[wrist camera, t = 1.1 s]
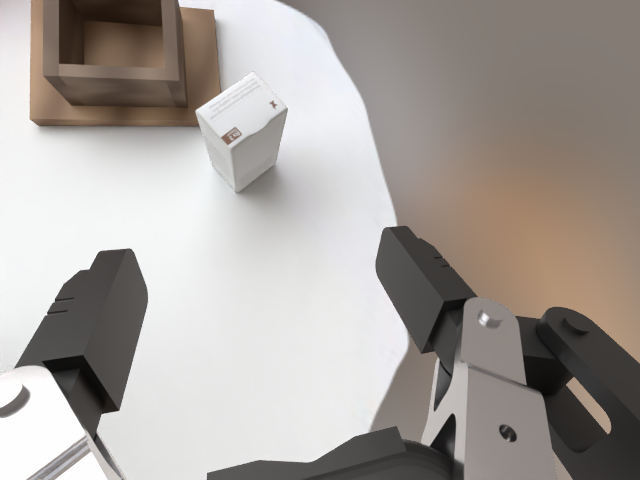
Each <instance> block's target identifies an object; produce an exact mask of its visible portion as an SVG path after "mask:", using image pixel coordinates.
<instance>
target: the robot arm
mask: <svg viewBox="0 0 640 480" xmlns="http://www.w3.org/2000/svg"><path fill="white" fill-rule="evenodd" d="M376 273H377V276H378V278H379V280H380V282H381V284H382V285H383V287H384V289H385V291H386V293H387V294H388V296H389V298H390V300H391V301H392V303H393V305H394V307H395V308H396V310H397V312H398V314H399V315H400V317H401V319H402V321H403V323H404V324H405V326H406V328H407V330H408V331H409V333H410V335H411V337H412V338H413V340H414V342H415V344H416V345H417V347H418V349H419V351H420V352H421V354H423V353H428V352H433V351H435V352H436V354H437V356H438V359H437V361H436V365H435V372H434V380H433V388H432V394H431V401H430V409H429V415H428V421H427V424H426V427H425V430H424V433H423V437H422V440H421V443H419V442H415V441H410V440H406V439H401V436H400V433H399V431H398V428H397V426H395V427H391V428H387V429H383V430H379V431H375V432H371V433H367V434H363V435H359V436H355V437H353V438H352V439H350V440H348V441H347V442H345V443H343V444H342V445H340V446H338V447H337V448H335V449H334V450H332V451H330V452H329V453H327V454H325V455H324V456H322V457H320V458H319V459H317V460H315V461H313V462H309V463H303V462H283V461H264V460H258V461H254V462H250V463H246V464H242V465H238V466H234V467H230V468H226V469H222V470H218V471H214V472H210V473H207V480H557V475H556V469H555V463H554V457H553V451H554V452H555V454H556V455H557V457H558V458H559V460H560V461H561V463H562V464H563V465H564V467H565V468H566V470H567V471H568V473H569V474H570V476H571V477H572V479H573V480H640V364H639V363H638V362H637V361H636V360H635V359H634V358H633V357H632V356H631V355H629V354H628V353H627V352H626V351H625V350H624V349H623V348H622V347H621V346H619V345H618V344H617V343H616V342H615V341H614V340H613V339H612V338H611V337H610V336H608V335H607V334H606V333H605V332H604V331H603V330H602V329H601V328H600V327H598V326H597V325H596V324H595V323H594V322H593V321H592V320H590V319H589V318H587V317H586V316H584V315H582V314H580V313H578V312H576V311H574V310H571V309H568V308H563V307H552V308H549V309H548V310H547V311H546V312H545V313H544V315H543V316H542V318H541V319H536V318H528V317H520V316H514V314H513V313H512V312H511V311H510V310H509V309H508V308H506V307H505V306H503V305H502V304H500V303H498V302H496V301H494V300H491V299H488V298H482V297H478V296H477V295H476V294H475V293H474V292H473V291H472V290H471V288H470V287H469V286H468V285H467V284H466V283H465V282H464V281H463V279H462V278H461V277H460V276H459V275H458V274H457V272H456V271H455V270H454V269H453V268H452V267H450V265H449V263H448V262H447V261H446V260H445V259H443V258H442V255H441V254H440V253H439V252H438V251H437V250H436V249H435V247H434V246H432V245H431V244H429V243H427V242H426V241H424V240H422V239H421V238H420V239H418V238H417V237H416V236H415V235H414V233H413V232H412V231H411V230H410V229H409V228H408V227H407V226H397V227H386V228H384V230H383V232H382V235H381V240H380V244H379V249H378V253H377V258H376ZM147 303H148V292H147V287H146V284H145V281H144V278H143V276H142V273H141V270H140V268H139V265H138V262H137V259H136V257H135V254H134V252H133V251H132V249H118V250H107V251H100V252H99V253H98V254H97V256H96V258H95V260H94V262H93V264H92V265H91V267H90V269H89V270H80V271H79V272H78V273H77V274H75V275H74V276H73V277H72V278H71V279H70V280H68V281H67V282H66V283H65V284H64V285H63V287H62V288H61V290H60V292H59V293H58V295H57V297H56V298H55V303H52V305H51V307H50V309H49V310H48V312H47V314H48V315H47V316H45V317H44V319H43V320H42V322H41V324H40V326H39V327H38V329H37V331H36V332H35V334H34V336H33V337H32V339H31V341H30V342H29V344H28V346H27V348H26V349H25V351H24V353H23V354H22V356H21V358H20V359H19V361H18V363H17V364H16V366H15V368H14V369H12V370H10V371H7V372H5V373H3V374H0V480H127V479H126V477H125V476H124V474H123V473H122V471H121V469H120V468H119V466H118V464H117V463H116V461H115V459H114V458H113V456H112V454H111V453H110V451H109V449H108V448H107V446H106V444H105V443H104V441H103V439H102V438H101V436H100V435H99V433H98V432H97V427H98V424H99V421H100V417H101V414H104V413H109V412H115V411H119V410H120V406H121V402H122V399H123V395H124V391H125V387H126V384H127V380H128V376H129V372H130V369H131V365H132V361H133V357H134V353H135V350H136V346H137V342H138V338H139V335H140V331H141V327H142V323H143V320H144V316H145V312H146V308H147ZM573 377H575V378H576V379H577V380H578V381H579V383H580V384H581V385H582V386H583V387H584V388H585V389H586V390H587V392H588V393H589V394H590V395H591V396H592V397H593V398H594V399H595V400H596V402H597V403H598V404H599V405H600V406H601V407H602V408H603V410H604V411H605V412H606V414H607V415H608V417H609V419H610V422H611V432H610V433H609V434H607V433H606V432H605V431H604V430H603V428H602V427H601V426H600V425H599V424H598V422H597V421H596V420H595V419H594V418H593V417H592V415H591V414H590V413H589V412H588V411H587V409H586V408H585V407H584V406H583V405H582V404H581V402H580V401H579V400H578V399H577V398H576V396H575V395H574V394H573V393H572V392H571V390H570V389H569V388H568V387H567V386H566V384H567V383H568V382H569V381H570V380H571V379H572V378H573ZM552 449H553V451H552Z"/></svg>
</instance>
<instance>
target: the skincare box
mask: <svg viewBox="0 0 640 480" xmlns="http://www.w3.org/2000/svg"><path fill="white" fill-rule="evenodd" d="M287 111H288V108H287V107H286V106H285V105H284V104H283V103H282V101H281V100H280V99H279V98H278V97H277V96H276V95H275V94H274V92H273V91H272V90H271V89H270V88H269V87H268V86H267V85H266V84H265V82H264V81H263V80H262V79H261V78H260V77H259V76H258V75H257V74H256V73H255V72H252V73H250V74H249V75H247V76H246V77H244V78H243V79H241V80H240V81H238V82H237V83H235V84H234V85H233V86H231V87H230V88H228V89H227V90H225V91H224V92H222V93H221V94H219V95H218V96H216V97H215V98H213V99H212V100H210V101H209V102H207V103H206V104H204V105H203V106H202V107H200V108H198V109H197V110H196V111H195V112H196V115H197V119H198V122H199V125H200V128H201V131H202V134H203V138H204V141H205V144H206V147H207V151H208V154H209V157H210V160H211V163H212V166H213V167H214V168H215V169H216V171H217V172H218V173H219V174H220V175H221V176H222V177H223V179H224V180H225V181H226V182H227V183H228V184H229V185H230V187H231V188H232V189H233V190H234V191H235V192H236V193H238V192H240V191H241V190H242V189H243V188H245V187H246V186H247V185H249V184H250V183H251V182H252V181H254V180H255V179H256V178H258V177H259V176H260V175H261V174H263V173H264V172H265V171H267V170H268V169H269V168H271V167H272V166H273V165H274V164H275V163H276V160H277V155H278V151H279V146H280V142H281V137H282V133H283V129H284V124H285V120H286V116H287Z"/></svg>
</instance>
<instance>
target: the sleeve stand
mask: <svg viewBox="0 0 640 480" xmlns="http://www.w3.org/2000/svg"><path fill="white" fill-rule="evenodd" d="M219 94H221V92H220V79H219V67H218V54H217V42H216V29H215V18H214V10H207V9H196V8H185V7H179V3H178V0H31V58H30V120H32V121H33V122H34V123H35V124H37V125H61V126H200V125H199V122H198V119H197V115H196V112H195V111H196V110H197V109H198V108H200V107H202V106H203V105H204V104H206V103H207V102H209V101H210V100H212V99H213V98H215V97H216V96H218V95H219Z"/></svg>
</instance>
